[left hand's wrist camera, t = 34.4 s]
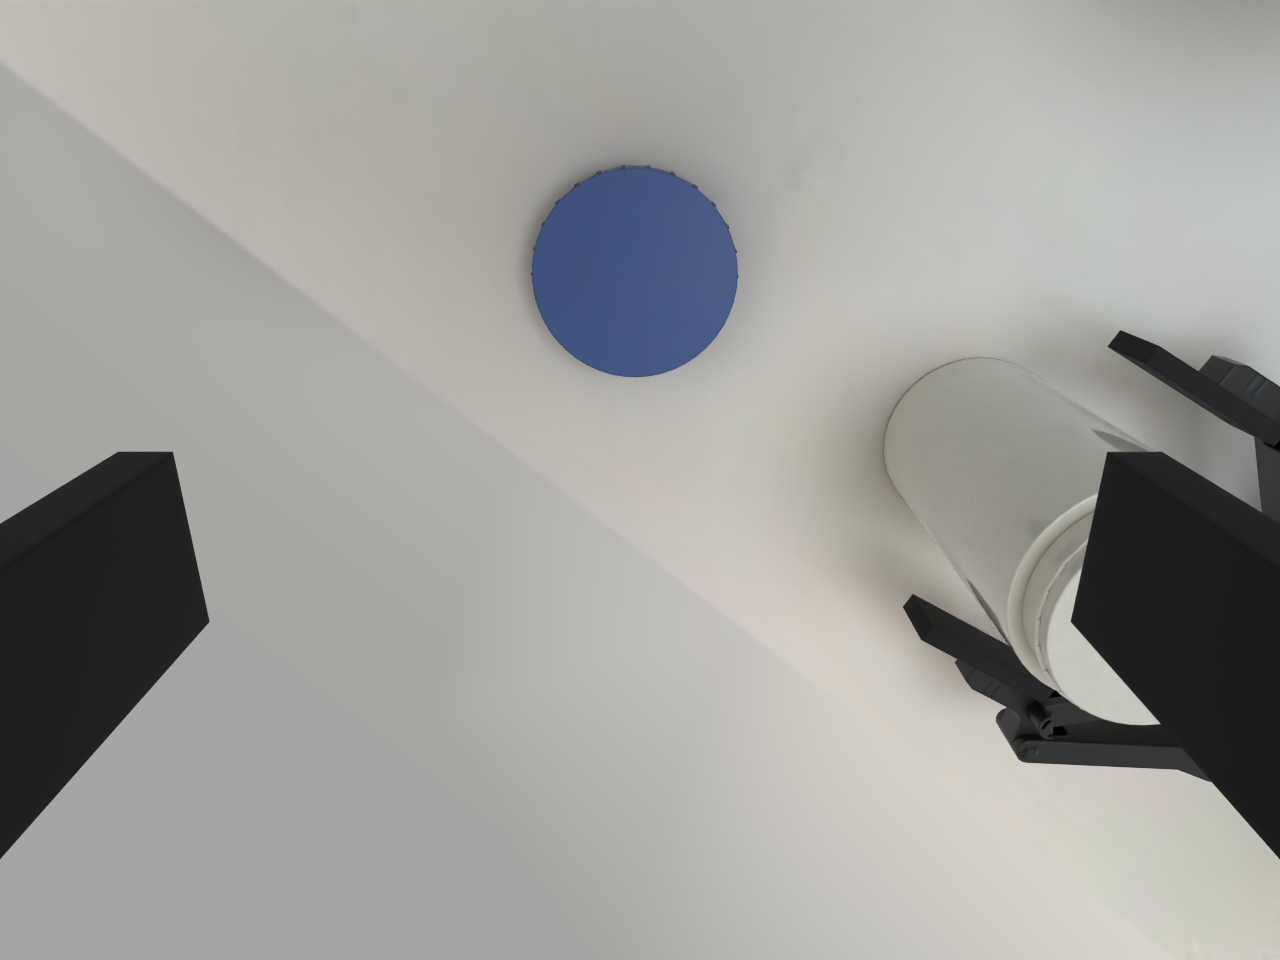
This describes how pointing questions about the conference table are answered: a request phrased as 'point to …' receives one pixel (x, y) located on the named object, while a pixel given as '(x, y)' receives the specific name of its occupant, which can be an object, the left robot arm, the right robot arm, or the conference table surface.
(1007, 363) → the jar
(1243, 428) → the right robot arm
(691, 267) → the lid
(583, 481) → the conference table surface
